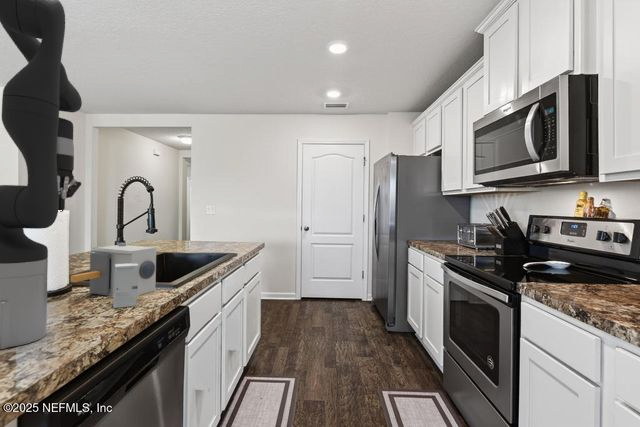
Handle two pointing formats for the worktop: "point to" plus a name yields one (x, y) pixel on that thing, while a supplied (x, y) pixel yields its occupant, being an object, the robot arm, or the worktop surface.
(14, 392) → the worktop surface
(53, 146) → the robot arm
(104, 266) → the hatch
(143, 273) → the grey box with disc
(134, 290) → the skincare box
